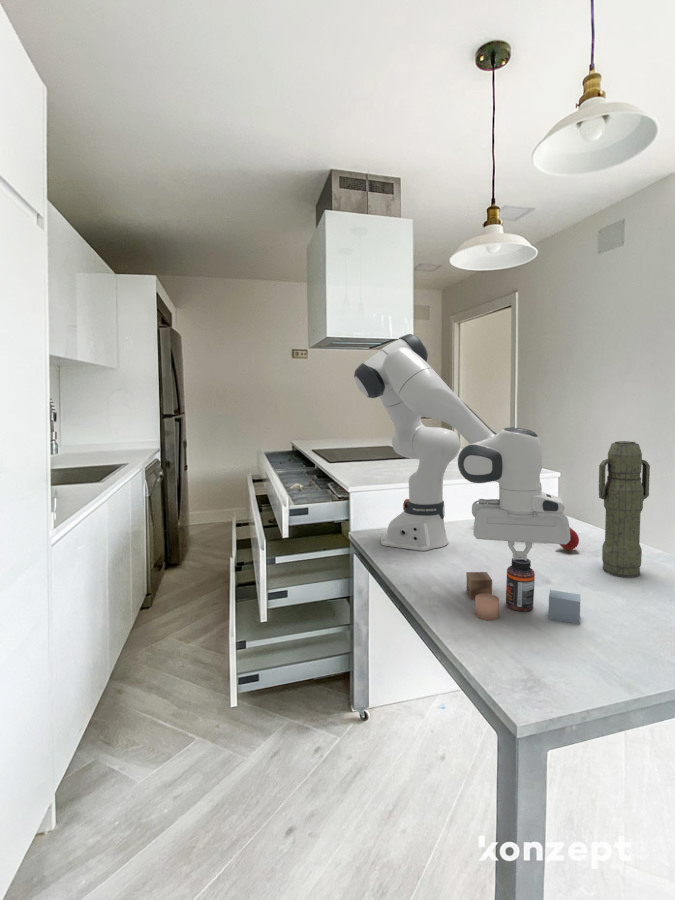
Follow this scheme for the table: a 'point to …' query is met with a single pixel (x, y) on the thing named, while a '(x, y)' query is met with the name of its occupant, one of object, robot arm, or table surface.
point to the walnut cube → (478, 583)
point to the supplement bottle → (520, 585)
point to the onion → (571, 541)
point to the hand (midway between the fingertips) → (519, 559)
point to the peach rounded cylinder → (487, 606)
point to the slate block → (564, 606)
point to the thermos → (623, 507)
